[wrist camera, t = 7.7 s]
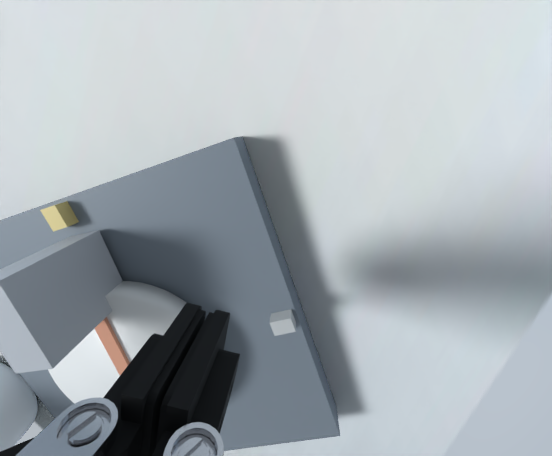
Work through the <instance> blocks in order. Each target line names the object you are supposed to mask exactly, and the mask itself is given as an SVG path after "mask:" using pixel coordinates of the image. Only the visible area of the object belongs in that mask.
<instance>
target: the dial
mask: <svg viewBox="0 0 552 456" xmlns="http://www.w3.org/2000/svg"><path fill="white" fill-rule="evenodd" d="M185 304H186V302H185V301H184V300H182V299H180V298H179V297H177V296H176V295H174V294H172V293H170V292H168V291H166V290H164V289H161V288H158V287H156V286H153V285H149V284H145V283H141V282H133V281H123V280H122V278H121V276H120V274H119V272H118V270H117V268H116V266H115V263H114V261H113V259H112V257H111V255H110V253H109V251H108V248H107V246H106V244H105V242H104V240H103V238H102V236H101V234H100V231H99V230H98V231H93V232H89V233H84V234H79V235H75V236H70V237H68V238H66V239H64V240H62V241H59V242H57V243H55V244H53V245H51V246H49V247H47V248H45V249H43V250H40V251H38V252H36V253H34V254H32V255H30V256H28V257H26V258H23V259H21V260H19V261H17V262H15V263H13V264H11V265H9V266H7V267H4V268H2V269H0V352H1V353H2V355H3V356H4V358H5V359H6V360H7V362H8V363H9V365H10V366H11V368H12V369H13V371H14V372H15V373H16V374H17V373H24V372H32V371H39V370H47V369H48V371H49V373H50V375H51V376H52V378H53V380H54V382H55V383H56V384H57V386H58V387H59V388H60V390H61V391H62V392H63V393H64V394H65V395H66V396H67V397H68V398H69V399H70V400H71V401H72V402H73V403H74V404H75V403H77V402H79V401H81V400H85V399H89V398H99V397H100V398H103V397H104V396H105V395H106V393H107V392H108V391H109V390H110V388H111V387H112V386H113V384H114V383H115V382H116V380H117V379H118V378H119V377H120V375H121V374H122V373H123V371H124V370H125V369H126V367H127V366H128V365H129V364H130V362H131V361H132V360H133V358H134V357H135V356H136V354H137V353H138V352H139V351H140V349H141V348H142V347H143V345H144V344H145V343H146V341H147V340H148V339H149V338H150V336H151V335H152V334H154V333H155V334H159V335H164V334H165V332H166V331H167V329H168V328H169V327H170V325H171V324H172V322H173V321H174V320H175V318H176V317H177V315H178V314H179V313H180V311H181V310H182V308H183V307H184V305H185Z"/></svg>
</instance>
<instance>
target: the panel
mask: <svg viewBox="0 0 552 456" xmlns="http://www.w3.org/2000/svg"><path fill="white" fill-rule="evenodd" d="M98 230H99V231H100V234H101V236H102V238H103V240H104V242H105V244H106V246H107V248H108V251H109V253H110V255H111V257H112V259H113V261H114V263H115V266H116V268H117V270H118V272H119V274H120V276H121V278H122V280H123V281H133V282H141V283H145V284H149V285H153V286H156V287H158V288H161V289H164V290H166V291H168V292H170V293H172V294H174V295H176V296H177V297H179V298H180V299H182V300H184V301H185V302H186V303H191V304H195V305H200V306H202V310H203V311H206V315H205V319H206V317H207V315H208V314H209V312H212V313H214V312H215V310H221V311H225V312H229V313H230V319H229V324H228V329H227V335H226V340H225V345H224V350H226V351H230V352H234V353H238V354H240V358H239V363H238V367H237V372H236V376H235V380H234V384H233V388H232V392H231V396H230V399H229V403H228V406H227V410H226V414H225V417H224V421H223V424H222V428H221V431H220V435H221V438H222V441H223V445H224V451H227V450H235V449H242V448H250V447H258V446H265V445H273V444H281V443H289V442H296V441H304V440H312V439H319V438H327V437H335V436H340V431H339V423H338V415H337V407H336V404H335V402H334V399H333V396H332V393H331V390H330V387H329V384H328V381H327V379H326V376H325V373H324V370H323V367H322V364H321V361H320V358H319V355H318V353H317V350H316V347H315V344H314V341H313V338H312V335H311V332H310V330H309V327H308V324H307V321H306V318H305V315H304V312H303V309H302V306H301V304H300V301H299V298H298V295H297V292H296V289H295V286H294V283H293V281H292V278H291V275H290V272H289V269H288V266H287V263H286V260H285V257H284V255H283V252H282V249H281V246H280V243H279V240H278V237H277V234H276V232H275V229H274V226H273V223H272V220H271V217H270V214H269V211H268V208H267V206H266V203H265V200H264V197H263V194H262V191H261V188H260V185H259V183H258V180H257V177H256V174H255V171H254V168H253V165H252V162H251V159H250V157H249V154H248V151H247V148H246V145H245V142H244V139H243V136H242V137H236V138H232V139H229V140H226V141H223V142H220V143H218V144H215V145H212V146H209V147H206V148H204V149H201V150H198V151H195V152H192V153H189V154H187V155H184V156H181V157H178V158H175V159H172V160H170V161H167V162H164V163H161V164H158V165H156V166H153V167H150V168H147V169H144V170H141V171H139V172H136V173H133V174H130V175H127V176H124V177H122V178H119V179H116V180H113V181H110V182H107V183H105V184H102V185H99V186H96V187H93V188H91V189H88V190H85V191H82V192H79V193H76V194H74V195H71V196H68V197H65V198H62V199H59V200H57V201H54V202H51V203H48V204H45V205H43V206H40V207H37V208H34V209H31V210H28V211H26V212H23V213H20V214H17V215H14V216H11V217H9V218H6V219H3V220H0V269H2V268H4V267H7V266H9V265H11V264H13V263H15V262H17V261H19V260H21V259H23V258H26V257H28V256H30V255H32V254H34V253H36V252H38V251H40V250H43V249H45V248H47V247H49V246H51V245H53V244H55V243H57V242H59V241H62V240H64V239H66V238H68V237H70V236H75V235H79V234H84V233H89V232H93V231H98ZM20 374H21V376H22V377H23V378H24V379H25V381H26V382H27V383H28V385H29V386H30V387H31V388H32V390H33V391H34V392H35V394H36V395H37V396H38V397H39V399H40V400H41V401H42V402H43V404H44V405H45V406H46V408H47V409H48V410H49V411H50V413H51V414H52V415H53V417H54V418H56V417H57V416H59V415H60V414H61V413H62V412H63V411H64V410H66V409H67V408H68V407H70V406H71V405H73V404H74V403H73V402H72V401H71V400H70V399H69V398H68V397H67V396H66V395H65V394H64V393H63V392H62V391H61V390H60V388H59V387H58V386H57V384H56V383H55V382H54V380H53V378H52V376H51V375H50V373H49V371H48V369H47V370H39V371H32V372H24V373H20Z"/></svg>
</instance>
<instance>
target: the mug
mask: <svg viewBox="0 0 552 456" xmlns="http://www.w3.org/2000/svg"><path fill="white" fill-rule="evenodd" d="M37 410H38V404H37V398H36V396H35V393H34V391H33V390H32V388H31V387H30V386H29V385H28V383H27V382H26V381H25V379H24V378H23V377H22V376H21V375H19V374H18V373H17V374H16V373H15V372H14V371H13V369H12V368H10V367H8V366H7V365H5V364H3V363H1V362H0V452H1V451H3V450H6V449H8V448H10V447H13V446H14V445H15V444H16V443H17V442H18V441H19V440H20V438H21V437H22V436H23V435H24V434H25V433H26V431H27V430H28V429H29V427H30V426H31V425H32V423H33V422H34V420H35V417H36V415H37Z"/></svg>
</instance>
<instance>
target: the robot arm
mask: <svg viewBox="0 0 552 456" xmlns="http://www.w3.org/2000/svg"><path fill="white" fill-rule="evenodd" d="M205 315H206V311H203V310H202V306H200V305H195V304H191V303H186V304H185V305H184V307H183V308H182V310H181V311H180V313H179V314H178V315H177V317H176V318H175V320H174V321H173V322H172V324H171V325H170V327H169V328H168V329H167V331H166V332H165V334H164V335H159V334H155V333H154V334H152V335H151V336H150V338H149V339H148V340H147V341H146V343H145V344H144V345H143V347H142V348H141V349H140V351H139V352H138V353H137V354H136V356H135V357H134V358H133V360H132V361H131V362H130V364H129V365H128V366H127V367H126V369H125V370H124V371H123V373H122V374H121V375H120V377H119V378H118V379H117V380H116V382H115V383H114V384H113V386H112V387H111V388H110V390H109V391H108V392H107V393H106V395H105V396H104V397H103V398H100V397H99V398H89V399H85V400H81V401H79V402H77V403H75V404H73V405H71V406H70V407H68V408H67V409H66V410H64V411H63V412H62V413H61V414H60V415H59V416H57V417H56V418H55V419H54V420H53V421H52V422H51V423H50V424H49V425H48V426H47V427H46V428H45V429H43V430H42V431H41V432H40V433H39V434H38V435H37V436H36V437H35V438H32V439H30V440H27V441H25V442H23V443H20V444H18V445H15V446H13V447H10V448H8V449H6V450H3V451H1V452H0V456H224V445H223V441H222V438H221V435H220V431H221V428H222V424H223V421H224V417H225V414H226V410H227V406H228V403H229V399H230V396H231V392H232V388H233V384H234V380H235V376H236V372H237V367H238V363H239V358H240V354H238V353H234V352H230V351H226V350H224V345H225V340H226V335H227V329H228V324H229V319H230V313H229V312H225V311H221V310H215V312H214V313H212V312H209V314H208V315H207V317H206V319H205Z"/></svg>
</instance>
